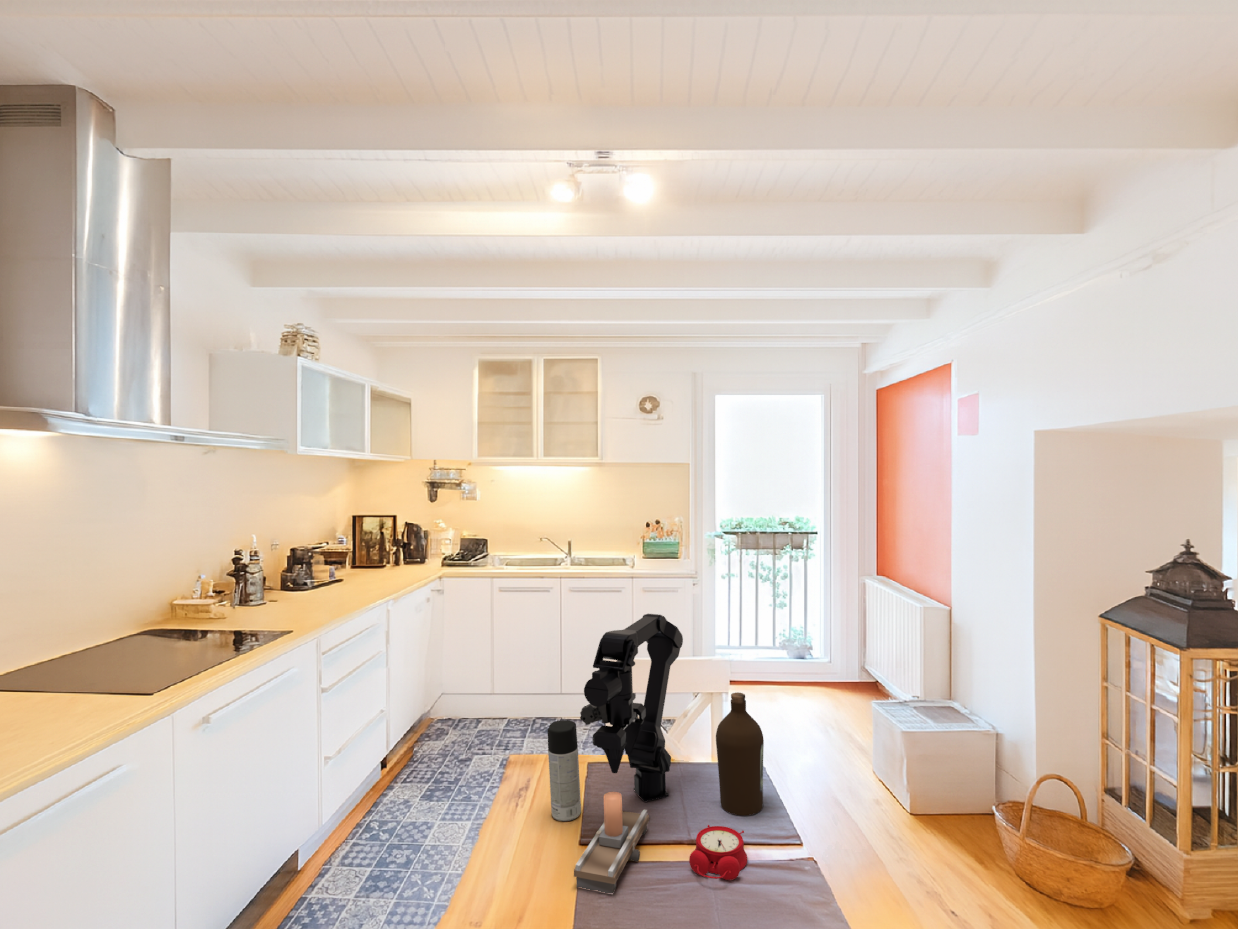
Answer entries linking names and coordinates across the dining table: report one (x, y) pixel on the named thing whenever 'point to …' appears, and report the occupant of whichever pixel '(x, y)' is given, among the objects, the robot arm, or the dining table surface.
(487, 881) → the dining table surface
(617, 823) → the rider
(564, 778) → the spray can
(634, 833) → the brown piece
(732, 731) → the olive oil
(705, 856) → the alarm clock
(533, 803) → the dining table surface
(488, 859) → the dining table surface
